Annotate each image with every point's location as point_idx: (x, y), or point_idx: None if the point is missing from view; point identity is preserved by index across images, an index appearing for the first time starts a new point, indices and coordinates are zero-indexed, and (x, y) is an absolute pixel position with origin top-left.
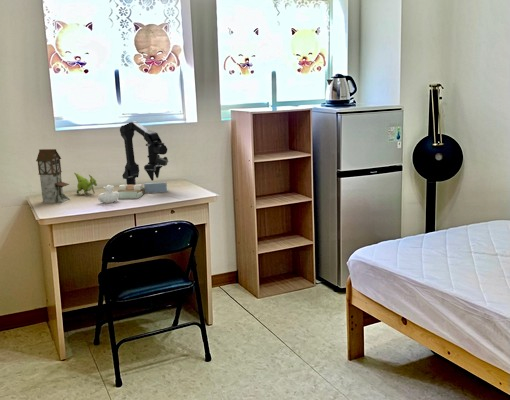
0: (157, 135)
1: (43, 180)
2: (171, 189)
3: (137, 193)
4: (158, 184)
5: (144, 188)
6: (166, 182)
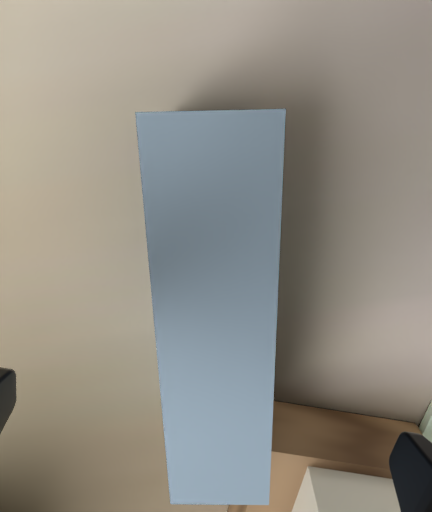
0: None
1: None
2: (52, 49)
3: None
4: (277, 276)
5: None
6: (138, 112)
